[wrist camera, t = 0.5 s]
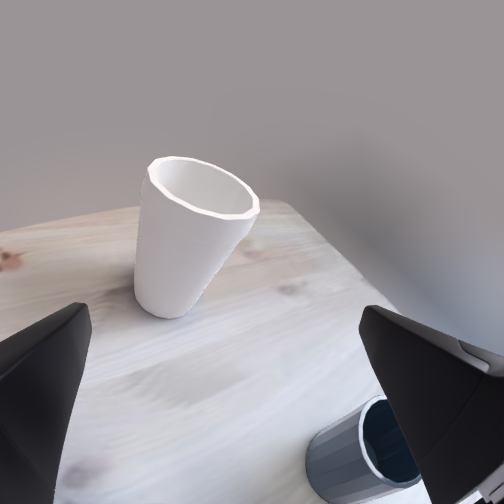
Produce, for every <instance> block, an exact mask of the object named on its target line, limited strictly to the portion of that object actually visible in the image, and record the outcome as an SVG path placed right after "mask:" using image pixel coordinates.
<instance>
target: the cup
mask: <svg viewBox="0 0 504 504" xmlns="http://www.w3.org/2000/svg"><path fill="white" fill-rule="evenodd" d="M417 466H418V465H416V462H415V460H414V458H413V455H412V453H411V451H410V448H409V446H408V444H407V441H406V439H405V437H404V435H403V432H402V430H401V428H400V426H399V423H398V421H397V419H396V417H395V415H394V412H393V410H392V408H391V406H390V404H389V402H388V400H387V397H386V395H378V396H375V397H374V398H372V399H370V400H369V401H367V402H366V403H364V404H363V405H361V406H360V407H358V408H357V409H355V410H354V411H352V412H351V413H349V414H348V415H346V416H344V417H343V418H341V419H340V420H338V421H337V422H335V423H333V424H332V425H330V426H328V427H327V428H325V429H323V430H322V431H321V432H319V433H318V434H317V435H316V436H315V437H314V438H313V440H312V441H311V443H310V445H309V448H308V451H307V455H306V471H307V475H308V478H309V481H310V483H311V485H312V487H313V488H314V490H315V491H316V492H317V493H318V494H319V496H321V497H322V498H323V499H324V500H326V501H328V502H330V503H332V504H360V503H364V502H368V501H371V500H374V499H378V498H381V497H384V496H387V495H390V494H393V493H396V492H398V491H401V490H404V489H407V488H409V487H411V486H413V485H415V484H417V483H418V482H419V481H420V480H421V479H422V477H421V475H420V472H419V470H418V467H417Z"/></svg>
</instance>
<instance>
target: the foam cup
mask: <svg viewBox="0 0 504 504" xmlns="http://www.w3.org/2000/svg"><path fill="white" fill-rule="evenodd" d="M140 197H141V208H140V216H139V226H138V236H137V247H136V259H135V274H134V292H135V297H136V300H137V301H138V303H139V304H140V305H141V306H142V308H143V309H144V310H146V311H147V312H149V313H151V314H153V315H154V316H156V317H161V318H167V319H173V318H177V317H181V316H184V315H185V314H186V313H187V312H188V311H189V310H190V309H191V307H192V306H193V305H194V304H195V303H196V301H197V300H198V298H199V297H200V295H201V294H202V293H203V291H204V290H205V288H206V287H207V286H208V284H209V283H210V281H211V280H212V279H213V277H214V276H215V275H216V273H217V272H218V270H219V269H220V268H221V266H222V265H223V263H224V262H225V261H226V259H227V258H228V256H229V255H230V254H231V252H232V251H233V250H234V248H235V247H236V245H237V244H238V243H239V241H240V240H241V239H243V238H244V237H245V236H246V235H247V234H248V232H249V230H250V229H251V227H252V225H253V223H254V221H255V219H256V217H257V215H258V214H259V212H260V209H259V199H258V198H257V196H256V195H255V194H254V192H253V191H252V190H251V188H250V187H249V186H248V185H246V184H245V183H244V182H242V181H241V180H240V179H238V178H237V177H236V176H234V175H233V174H231V173H229V172H227V171H225V170H223V169H221V168H219V167H217V166H215V165H213V164H210V163H206V162H203V161H199V160H196V159H193V158H186V157H176V156H175V157H174V156H169V157H164V158H160V159H156V160H154V161H153V163H152V164H151V165H150V166H149V167H148V168H147V171H146V175H145V178H144V182H143V185H142V188H141V192H140Z"/></svg>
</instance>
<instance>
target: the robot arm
mask: <svg viewBox="0 0 504 504" xmlns="http://www.w3.org/2000/svg"><path fill="white" fill-rule="evenodd" d="M91 334H92V325H91V320H90V315H89V310H88V306H87V305H86V304H85V303H77V302H75V303H72V304H70V305H68V306H67V307H65V308H63V309H61V310H59V311H57V312H55V313H53V314H51V315H49V316H47V317H46V318H44V319H42V320H40V321H38V322H36V323H34V324H32V325H31V326H29V327H27V328H25V329H23V330H21V331H19V332H18V333H16V334H14V335H12V336H10V337H9V338H7V339H5V340H3V341H1V342H0V504H53V500H54V494H55V491H54V490H55V486H56V480H57V474H58V469H59V464H60V459H61V454H62V450H63V445H64V441H65V436H66V432H67V428H68V424H69V420H70V416H71V413H72V409H73V405H74V402H75V398H76V395H77V392H78V388H79V385H80V382H81V378H82V375H83V371H84V367H85V362H86V357H87V352H88V347H89V343H90V338H91ZM359 334H360V336H361V339H362V342H363V344H364V347H365V350H366V352H367V355H368V358H369V361H370V363H371V366H372V368H373V370H374V372H375V375H376V377H377V379H378V381H379V383H380V385H381V387H382V389H383V391H384V393H385V395H386V397H387V400H388V402H389V404H390V406H391V408H392V410H393V412H394V415H395V417H396V419H397V421H398V423H399V426H400V428H401V430H402V432H403V435H404V437H405V439H406V441H407V444H408V446H409V448H410V451H411V453H412V455H413V458H414V460H415V462H416V465H418V466H417V467H418V470H419V472H420V475H421V477H422V480H423V482H424V485H425V487H426V490H427V492H428V495H429V497H430V500H431V503H432V504H458V503H460V502H461V501H463V500H464V499H466V498H467V497H469V496H470V495H471V494H473V493H474V492H476V491H477V490H478V491H479V492H480V494H481V495H482V498H481V499H480V500H478V501H477V502H476V503H474V504H504V356H501V355H498V354H495V353H492V352H489V351H487V350H484V349H481V348H479V347H476V346H474V345H471V344H469V343H466V342H464V341H461V340H457V339H456V338H454V337H452V336H449V335H447V334H444V333H442V332H440V331H437V330H435V329H432V328H430V327H428V326H425V325H423V324H421V323H418V322H416V321H413V320H411V319H409V318H406V317H404V316H401V315H399V314H397V313H394V312H392V311H390V310H387V309H385V308H382V307H380V306H378V305H369V306H366V307H365V308H364V311H363V314H362V318H361V321H360V324H359Z"/></svg>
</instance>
